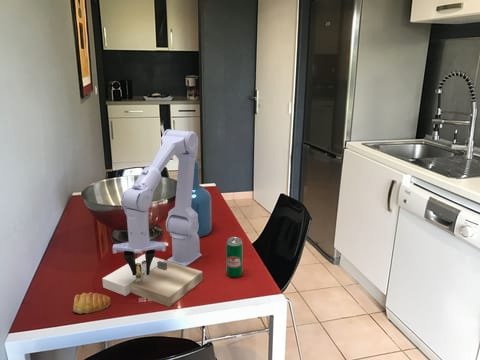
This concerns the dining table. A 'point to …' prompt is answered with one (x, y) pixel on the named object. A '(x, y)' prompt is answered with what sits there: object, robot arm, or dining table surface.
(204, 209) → the blue bottle
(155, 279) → the slab
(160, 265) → the block
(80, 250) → the dining table surface
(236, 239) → the soda can
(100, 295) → the pastry
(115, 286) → the frame slab
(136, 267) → the bar
